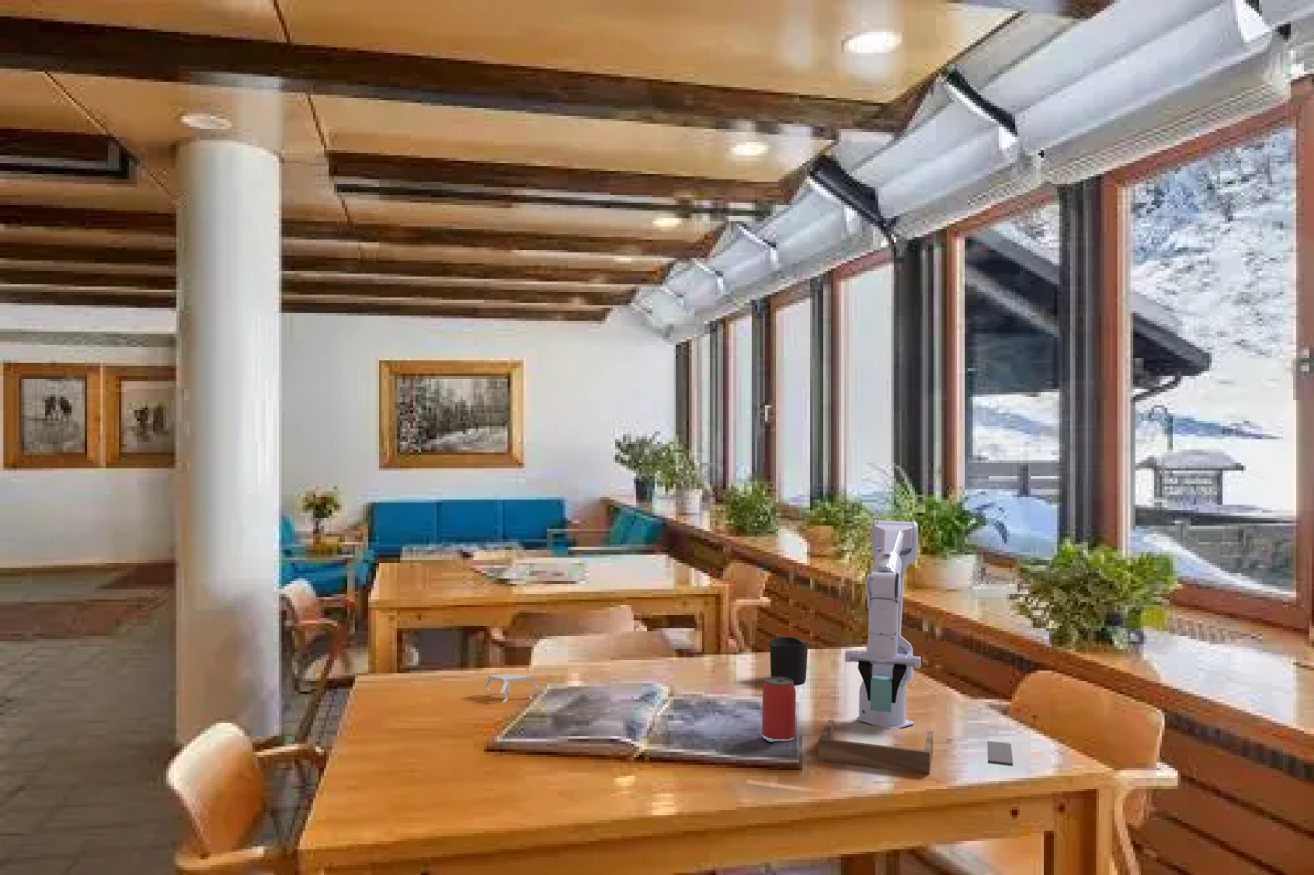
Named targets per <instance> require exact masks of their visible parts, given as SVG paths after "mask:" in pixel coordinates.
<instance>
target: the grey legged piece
mask: <svg viewBox="0 0 1314 875" xmlns="http://www.w3.org/2000/svg"><path fill="white" fill-rule="evenodd" d="M492 680H495V681H499V682H503V686H502V687H501V689H500V692H499V694H500V695H502V696H503V697H504V699H503V700H502V701H501V703H506V702H507V701H508V699H510V698H509V696H508V695H510V690H511V688H510V687H511V683H513V682H514V683H515V682H523V681H530V682H531V683H532V684H533V686H535V687H536V688H535V689H534V690H533V691H532V692H530V693H529V694H528V697H529V700H533V698H532V695H534V694H535V693H536V692H537V691H538V690H540V687H539V685H538V684H537V683H536V681H535V680H534V678H533V676H528V675H524V674H514V673H513V674H512V673H503V674H502V673H501V674H490V675H487V681H486V683H485V685H486V686H485V688H486V689H487V691H488V692H489V697H491V696H493V694H494V693H493V692H492V690H491V689H490V688H489V685H490V682H491V681H492Z"/></svg>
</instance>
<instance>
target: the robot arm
mask: <svg viewBox="0 0 1314 875" xmlns="http://www.w3.org/2000/svg"><path fill="white" fill-rule="evenodd" d="M870 535H871V537H870V538H871V546H872V547H871V548H872V555H873V557H874V558H873V564H872V570H871V574H869V573H868V574H867V576H866V583H865V584H866V586H865V593H866V600H867V609H868V632H867V634H868V635H867V637H868V638H867V641H868V642H867V643H866V649H865V650H846V651H845V653H844V662H846V663H847V662H848V663H851V662H854V663H858V664H857V669H858V671H859V673H860V676H861V678H862V681H861V684H860V687H859V697H858V702H859V703H858V708H859V709H858V716H857V717H856V720H857V721H859V722H863V723H865V724H866V723H867V724H868V725H873V726H875V727H884V728H888V729H891V730H892V729H902V728H906V727H909V726H913V725H915V721H912V720H910V719H906V718H907V716H906V715H907V714H906V708H907V707H906V706H907V704H906V703H907V702H906V701H907V696H906V695H907V683H910V682H911V681H913V676H914V669H921V664H922V663H921V661H922V660H921V656H917V655H916V656H915V655H914V648H913V647H912V644H911V643H910V642H909V641H908V640H907V639H906V638H904V637H903V636H902V618H903V602H904V588H905V587H904V586H905V584H904V582H905V574H906V572H907V569H908V565H911V564H913V563H916V558H917V555H918V554H917V553H918V544H919V525H918V523H917V522H916V521H915V520H913V521H899V520H878V519H874V520H873V521H872V523H871V534H870ZM873 675H875V676H886V677H893V689H892V703H893V708H892V711H891V713H890V712H881V711H872V710H870V699H871V679H872V676H873Z"/></svg>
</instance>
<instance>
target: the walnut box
mask: <svg viewBox="0 0 1314 875" xmlns="http://www.w3.org/2000/svg"><path fill="white" fill-rule="evenodd" d="M834 725H835V720H830V719H829V720H828V721H827V723H826V725H825V727H824V729H823V730H822V732H821V734H820V736H819V737H818V740H817V742H818V745H817V746H818V749H817V761H818V762H826V763H832V764H833V763H834V764H840V765H841V764H842V765H851V766H856V767H858V766H859V767H863V768H864V767H866V768H872V769H873V768H875V769H881V770H890V771H897V772H905V773H912V774H913V773H914V774H922V775H930V773H931V768H932V767H931V766H932V760H933V754H934V731H931V730H928V731H927V732H926V733H927V734H926V740H925V745H924V749H916V748H909V747H901V746H900V747H898V746H891V745H882V744H873V743H866V742H865V743H864V742H858V741H857V742H856V741H847V740H839V739H834V738H835V736H834V735H835V734H834V732H835V726H834Z"/></svg>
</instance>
